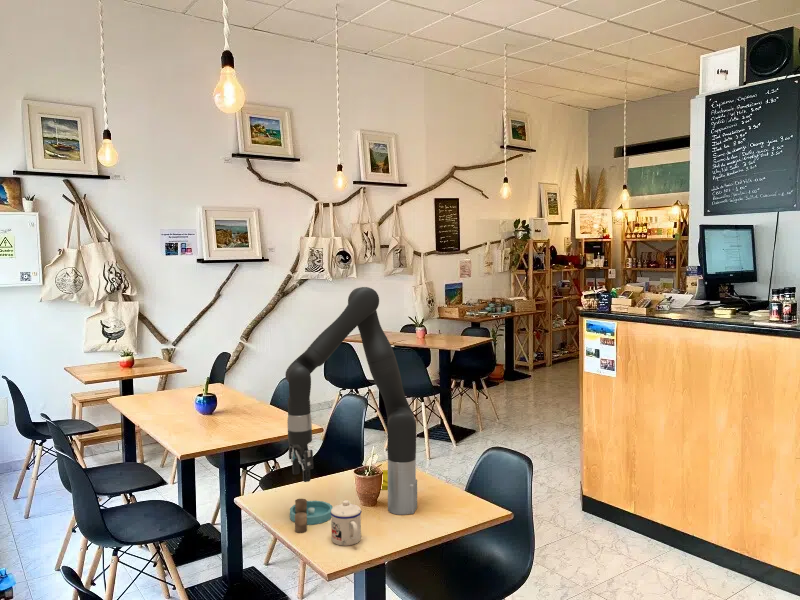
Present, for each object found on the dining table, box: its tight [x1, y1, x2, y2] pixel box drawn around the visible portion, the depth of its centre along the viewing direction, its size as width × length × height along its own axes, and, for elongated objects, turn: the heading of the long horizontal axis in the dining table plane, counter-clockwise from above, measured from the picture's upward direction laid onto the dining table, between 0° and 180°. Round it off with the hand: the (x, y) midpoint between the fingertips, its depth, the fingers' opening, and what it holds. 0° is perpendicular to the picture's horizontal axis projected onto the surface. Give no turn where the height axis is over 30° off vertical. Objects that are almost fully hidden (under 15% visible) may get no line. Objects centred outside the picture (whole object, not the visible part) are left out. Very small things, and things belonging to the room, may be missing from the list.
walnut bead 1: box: [294, 498, 308, 514], centre depth 205 cm, size 4×4×5 cm
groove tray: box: [289, 500, 334, 526], centre depth 207 cm, size 14×14×2 cm
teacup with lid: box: [330, 499, 363, 547], centre depth 188 cm, size 12×9×12 cm
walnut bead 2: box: [294, 512, 308, 534], centre depth 196 cm, size 4×4×5 cm
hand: (301, 477), depth 204 cm, fingers open, 8 cm apart
